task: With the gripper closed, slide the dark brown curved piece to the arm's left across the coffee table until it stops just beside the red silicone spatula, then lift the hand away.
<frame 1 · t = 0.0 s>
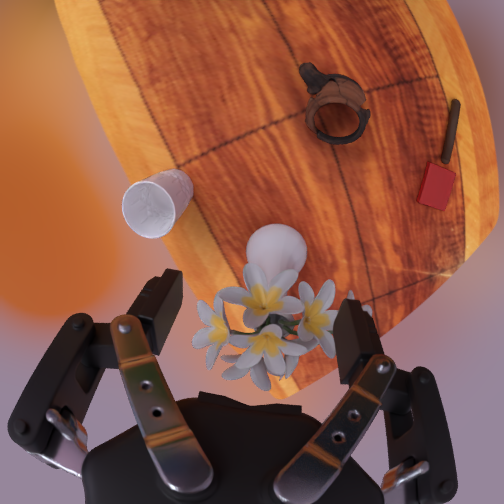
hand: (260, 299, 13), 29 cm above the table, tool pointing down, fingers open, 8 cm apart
dark brown curved piece: (327, 100, 33), on the table
white cup: (174, 188, 41), on the table
flower vase: (280, 239, 44), on the table
spatula: (443, 158, 34), on the table
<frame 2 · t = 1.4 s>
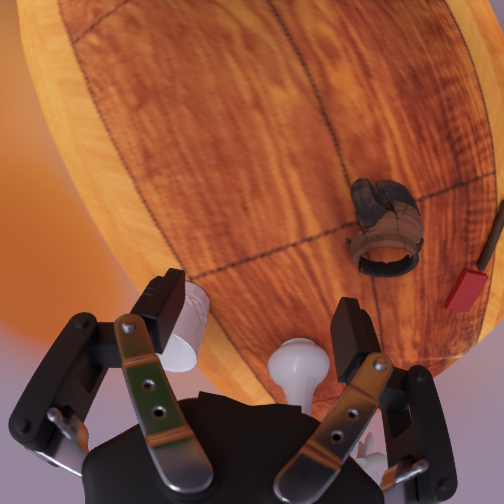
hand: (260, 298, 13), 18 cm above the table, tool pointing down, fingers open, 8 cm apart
dark brown curved piece: (373, 212, 29), on the table
white cup: (187, 298, 37), on the table
flower vase: (302, 346, 40), on the table
spatula: (479, 262, 30), on the table
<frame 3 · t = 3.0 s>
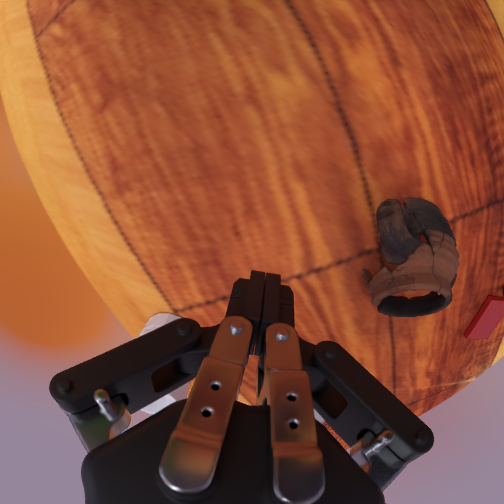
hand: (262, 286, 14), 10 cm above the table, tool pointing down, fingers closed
dark brown curved piece: (397, 237, 22), on the table
white cup: (173, 331, 31), on the table
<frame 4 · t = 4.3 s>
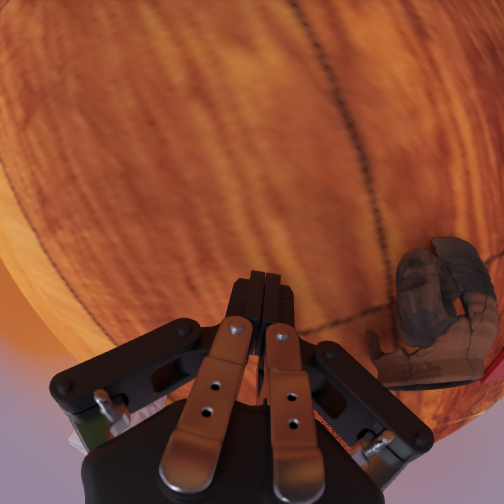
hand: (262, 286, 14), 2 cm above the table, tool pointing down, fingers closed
dark brown curved piece: (417, 287, 15), on the table
white cup: (138, 382, 24), on the table
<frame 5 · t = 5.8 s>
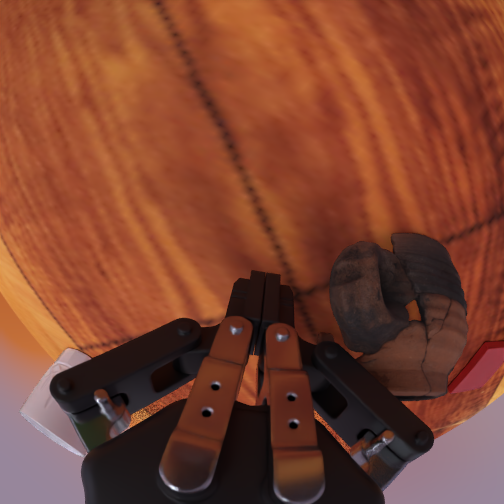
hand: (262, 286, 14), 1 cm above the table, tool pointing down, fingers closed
dark brown curved piece: (378, 288, 15), on the table, touching gripper, hand
white cup: (88, 366, 24), on the table
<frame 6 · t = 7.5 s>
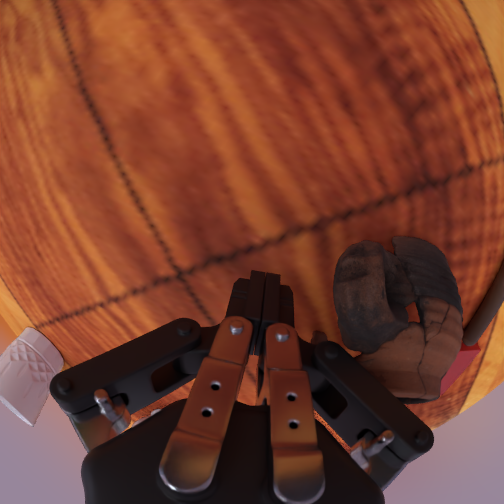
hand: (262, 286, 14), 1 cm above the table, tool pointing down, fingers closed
dark brown curved piece: (374, 290, 15), on the table, touching gripper, hand
white cup: (45, 345, 24), on the table
flower vase: (179, 418, 27), on the table
spatula: (466, 330, 16), on the table
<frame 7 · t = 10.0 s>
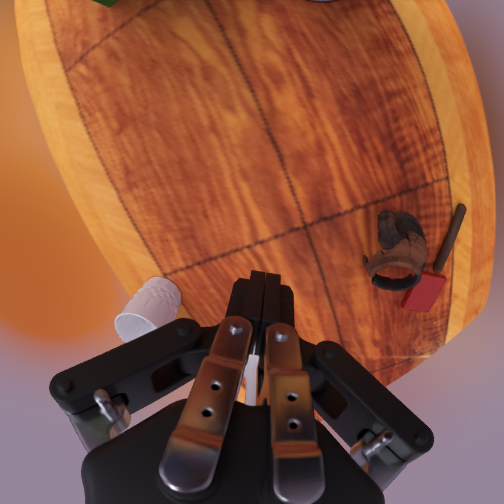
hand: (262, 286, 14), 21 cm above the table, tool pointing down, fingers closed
dark brown curved piece: (388, 236, 34), on the table
white cup: (163, 292, 43), on the table
flower vase: (265, 338, 45), on the table
spatula: (435, 265, 35), on the table
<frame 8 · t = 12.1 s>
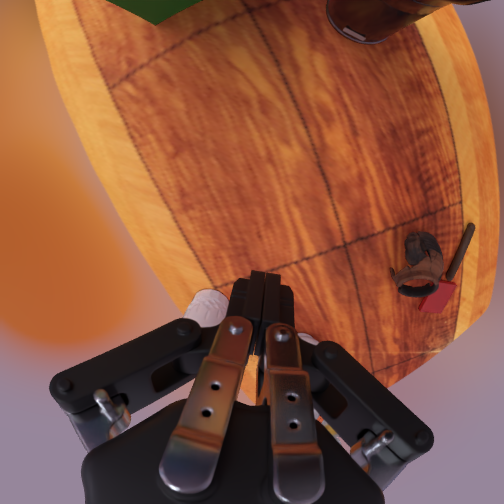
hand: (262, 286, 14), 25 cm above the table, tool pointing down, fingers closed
dark brown curved piece: (411, 251, 39), on the table
white cup: (211, 302, 48), on the table
spatula: (447, 273, 40), on the table
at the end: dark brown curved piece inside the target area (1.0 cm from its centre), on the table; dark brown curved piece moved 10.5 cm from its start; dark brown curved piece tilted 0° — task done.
